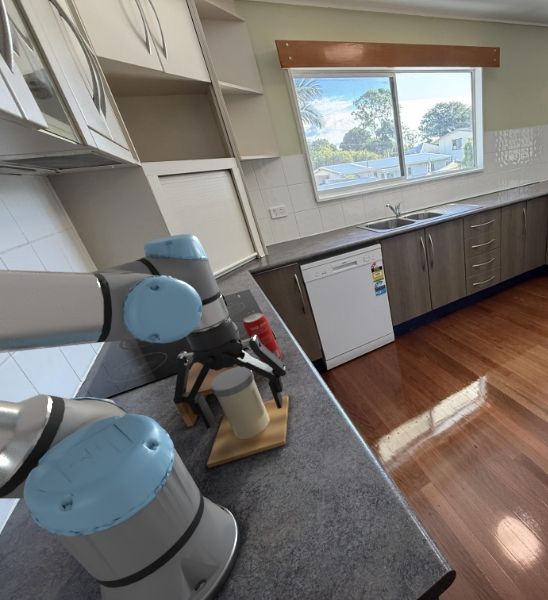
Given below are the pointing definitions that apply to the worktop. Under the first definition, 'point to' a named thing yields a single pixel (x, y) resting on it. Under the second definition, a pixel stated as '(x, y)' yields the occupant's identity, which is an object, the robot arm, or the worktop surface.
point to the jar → (241, 402)
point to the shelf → (204, 389)
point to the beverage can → (261, 332)
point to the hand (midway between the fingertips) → (246, 413)
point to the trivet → (270, 437)
